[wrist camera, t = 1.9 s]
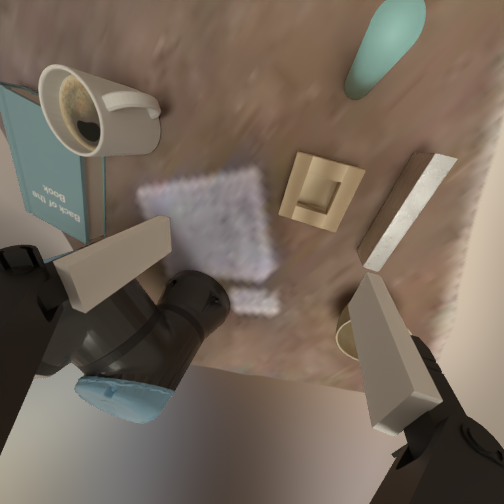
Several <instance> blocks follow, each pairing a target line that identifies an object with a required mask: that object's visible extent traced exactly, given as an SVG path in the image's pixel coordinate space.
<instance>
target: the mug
mask: <svg viewBox="0 0 504 504" xmlns="http://www.w3.org/2000/svg"><path fill="white" fill-rule="evenodd" d="M38 89H39V100H40V104H41V108H42V111H43V114H44V116H45V119H46V121H47V123H48V125H49V127H50V128H51V130H52V132H53V133H54V134H55V136H56V137H57V139H58V140H59V141H60V142H61V143H62V144H63V145H64V146H65V147H66V148H67V149H69V150H70V151H72V152H73V153H75V154H77V155H80V156H84V157H96V156H121V155H145V154H149V153H151V152H152V151H153V150H154V149H155V148H156V147H157V145H158V143H159V140H160V133H161V128H160V121H159V117H158V116H159V115H160V113H161V109H160V107H159V104H158V101H157V99H156V98H154V97H153V96H151V95H149V94H147V93H143V92H140V91H139V90H137V89H134V88H131V87H128V86H125V85H122V84H119V83H116V82H113V81H110V80H107V79H103V78H100V77H97V76H94V75H91V74H88V73H85V72H82V71H79V70H76V69H73V68H70V67H67V66H63V65H58V64H55V65H50V66H48V67H46V68H45V69H44V70H43V72H42V74H41V76H40V79H39V86H38Z"/></svg>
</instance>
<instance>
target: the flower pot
mask: <svg viewBox="0 0 504 504" xmlns="http://www.w3.org/2000/svg"><path fill="white" fill-rule="evenodd" d="M349 303H350V302H349ZM349 303H348V304H347V305H346V306H345V308H344V309H343V311H342V313H341V315H340V317H339V320H338V324H337V329H336V342H337V345H338V347H339V348H340V349H341V351H343V352H344V353H345V354H346V355H348V356H349V357H351V358H353V359H355V360H358V361H359V359H358V354H357V349H356V344H355V339H354V334H353V329H352V324H351V319H350V314H349V309H348V305H349ZM405 326H406V325H405ZM406 328H407V330H408V332H409V334H410V335H412V333H411V332H410V330H409V329H408V327H407V326H406Z"/></svg>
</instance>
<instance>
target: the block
mask: <svg viewBox="0 0 504 504" xmlns="http://www.w3.org/2000/svg"><path fill="white" fill-rule="evenodd" d="M365 171H366V170H364V169H362V168H359V167H356V166H352V165H348V164H345V163H341V162H337V161H333V160H330V159H326V158H322V157H319V156H315V155H311V154H307V153H304V152H297V156H296V159H295V162H294V165H293V169H292V172H291V175H290V178H289V181H288V185H287V188H286V191H285V194H284V198H283V201H282V204H281V207H280V211H279V214H278V215H281V216H284V217H287V218H290V219H294V220H297V221H300V222H303V223H306V224H309V225H312V226H316V227H319V228H322V229H325V230H328V231H331V232H334V233H335V232H336V230H337V228H338V226H339V224H340V222H341V220H342V218H343V216H344V214H345V212H346V210H347V208H348V206H349V204H350V202H351V200H352V198H353V196H354V193H355V191H356V189H357V187H358V185H359V183H360V181H361V179H362V177H363V175H364V173H365Z"/></svg>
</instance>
